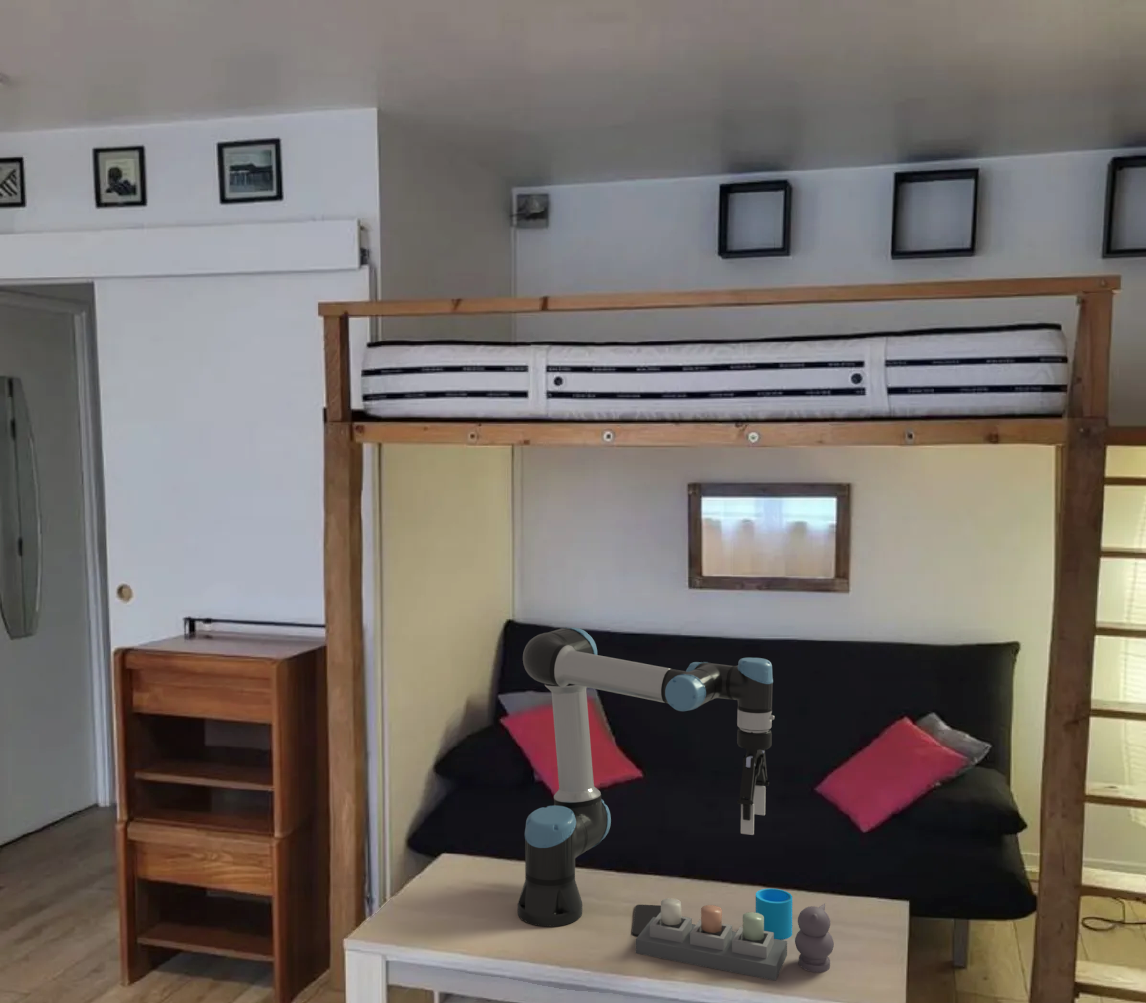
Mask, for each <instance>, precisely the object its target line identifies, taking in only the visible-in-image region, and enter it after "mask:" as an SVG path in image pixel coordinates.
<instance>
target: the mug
mask: <svg viewBox="0 0 1146 1003" xmlns="http://www.w3.org/2000/svg"><path fill="white" fill-rule="evenodd" d="M755 913H759V914H761V915H763V916H764V931H768V932H773V933H774V939H778V940H787V939H790V938H791V937H792V936H793V895H792V894H791V893H789V892H788V891H786V890H783V889H779V888H762V889H759V890H757V891H756V892H755Z"/></svg>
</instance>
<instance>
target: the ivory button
mask: <svg viewBox="0 0 1146 1003" xmlns="http://www.w3.org/2000/svg"><path fill="white" fill-rule="evenodd" d="M660 905H661V922H662V923H664V924H666V925H677V924H680V923H681V916H682V901H681V900H679V899H677V898H672V897H670V898H669V897H667V898H663V899H662V900H660Z"/></svg>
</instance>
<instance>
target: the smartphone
mask: <svg viewBox="0 0 1146 1003" xmlns="http://www.w3.org/2000/svg"><path fill="white" fill-rule="evenodd" d="M660 912H661V904H660V905H656V904H636V905H635V906H634V912H633V921H632V929H631V936H633V937H635V938H637V937H638V936H639V934H640V933H641V932H642V931H643V929H644V928H645V927H646V925H647V924H648V923H649V922H650V920H651V919H652V918H653V917H657V916H658V915H659V913H660Z"/></svg>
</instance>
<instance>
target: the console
mask: <svg viewBox="0 0 1146 1003" xmlns="http://www.w3.org/2000/svg"><path fill="white" fill-rule="evenodd" d="M692 919H693V918H692V917H690V916H688V917H687V916H683V915H681V923H680V924H677V925H666V924H664V923H662V922H661V912H660V913H659V915H658V916H657V917H653V918H652V919H651V920H650V922H649V923H648V924H647V925H646V927H645V928H644V929H643V931H642V932H641V933H640V934H639V936H638V937H635V954H637V955H644V956H647V957H654V958H659V959H664V960H668V961H674V962H679V963H683V964H689V965H695V966H700V967H703V968H705V967H706V968H710V969H713V970H714V969H715V970H719V971H725V972H730V973H735V974H740V975H744V976H749V977H756V978H760V979H766V980H769V981H770V980H771V981H776V980H777V979H778V977H779V974H780V972H781V970H782V968H783V966H784V963H785V961H786V959H787V956H788V940H785V939H783V940H778V939H774V933H773V932H768V931H764V938H763V939H761V940H749V939H746V938H744V937H743V926H739V928H738V930H737V931H733V925H732V924H728V923H723V922H722V930H721V931H719V932H716V933H710V932H706V931H703V930H702V929H701V918H700V919H699V920H698V921H697V923H696V924H695V923H692V921H693V920H692Z"/></svg>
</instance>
